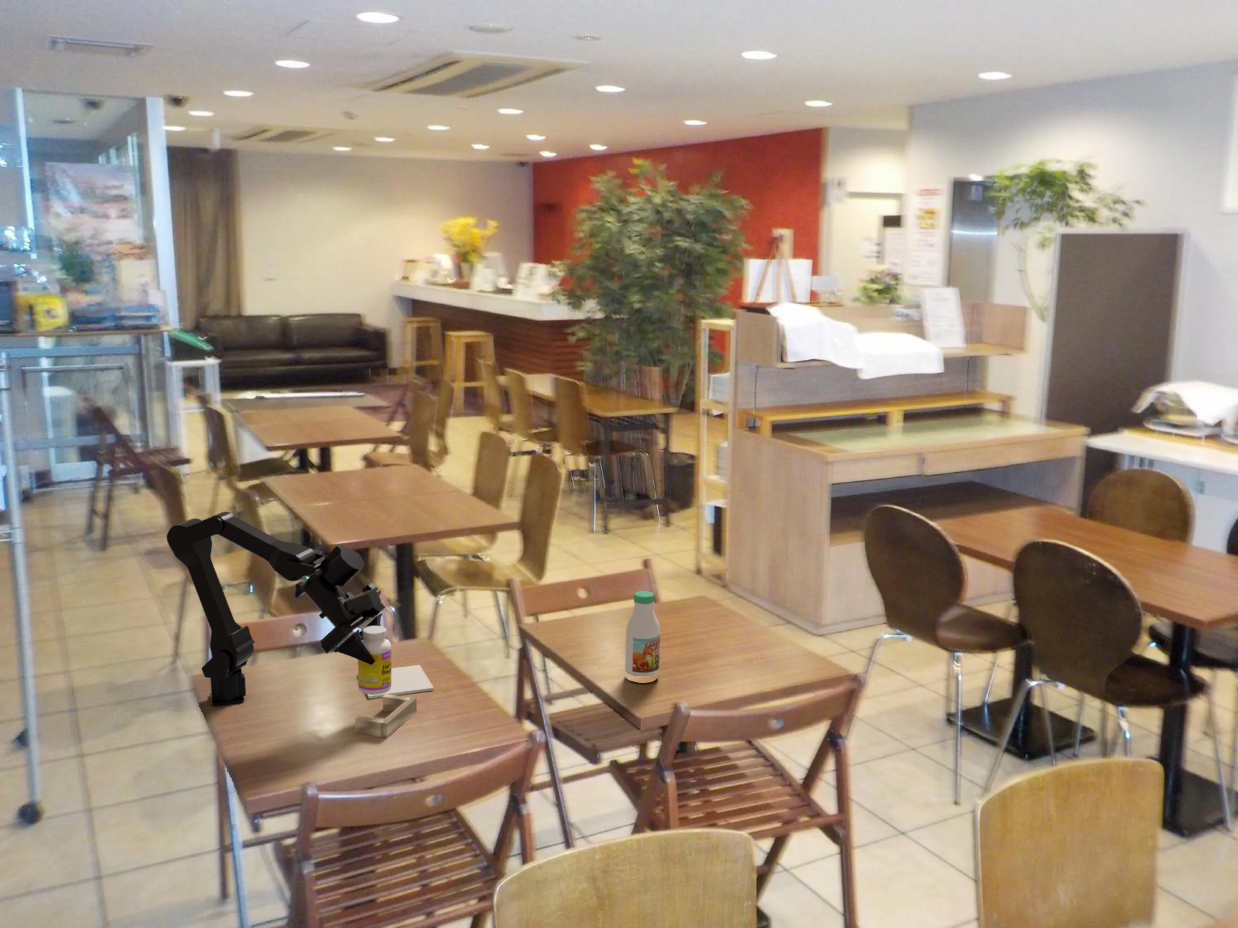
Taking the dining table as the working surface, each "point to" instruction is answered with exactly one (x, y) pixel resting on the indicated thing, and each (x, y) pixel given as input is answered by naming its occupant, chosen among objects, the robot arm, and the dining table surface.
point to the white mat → (407, 681)
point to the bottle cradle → (400, 714)
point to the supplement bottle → (379, 673)
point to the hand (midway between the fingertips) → (381, 657)
